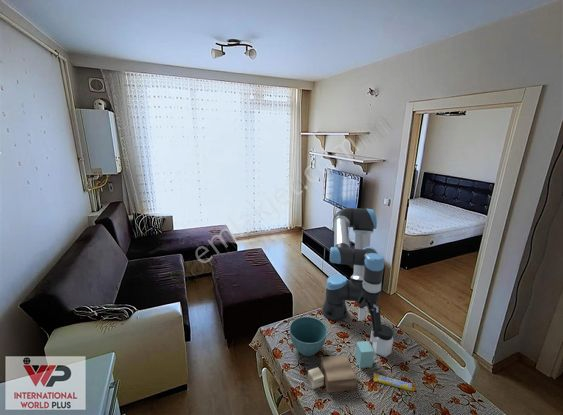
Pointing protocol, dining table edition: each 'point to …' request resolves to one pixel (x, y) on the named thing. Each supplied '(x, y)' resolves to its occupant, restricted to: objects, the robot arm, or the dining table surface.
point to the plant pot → (308, 335)
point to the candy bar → (394, 382)
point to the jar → (384, 341)
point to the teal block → (364, 354)
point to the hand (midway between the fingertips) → (366, 330)
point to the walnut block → (338, 373)
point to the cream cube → (315, 378)
